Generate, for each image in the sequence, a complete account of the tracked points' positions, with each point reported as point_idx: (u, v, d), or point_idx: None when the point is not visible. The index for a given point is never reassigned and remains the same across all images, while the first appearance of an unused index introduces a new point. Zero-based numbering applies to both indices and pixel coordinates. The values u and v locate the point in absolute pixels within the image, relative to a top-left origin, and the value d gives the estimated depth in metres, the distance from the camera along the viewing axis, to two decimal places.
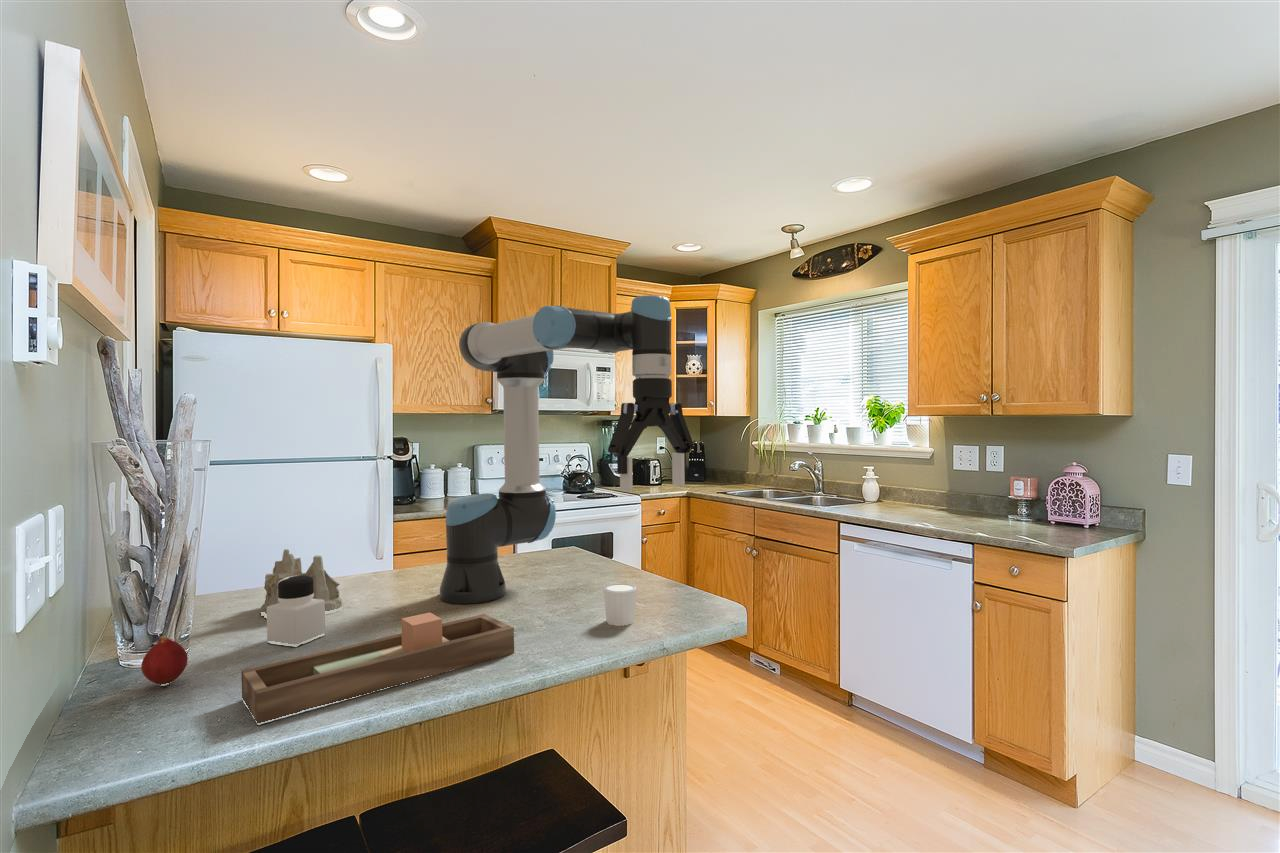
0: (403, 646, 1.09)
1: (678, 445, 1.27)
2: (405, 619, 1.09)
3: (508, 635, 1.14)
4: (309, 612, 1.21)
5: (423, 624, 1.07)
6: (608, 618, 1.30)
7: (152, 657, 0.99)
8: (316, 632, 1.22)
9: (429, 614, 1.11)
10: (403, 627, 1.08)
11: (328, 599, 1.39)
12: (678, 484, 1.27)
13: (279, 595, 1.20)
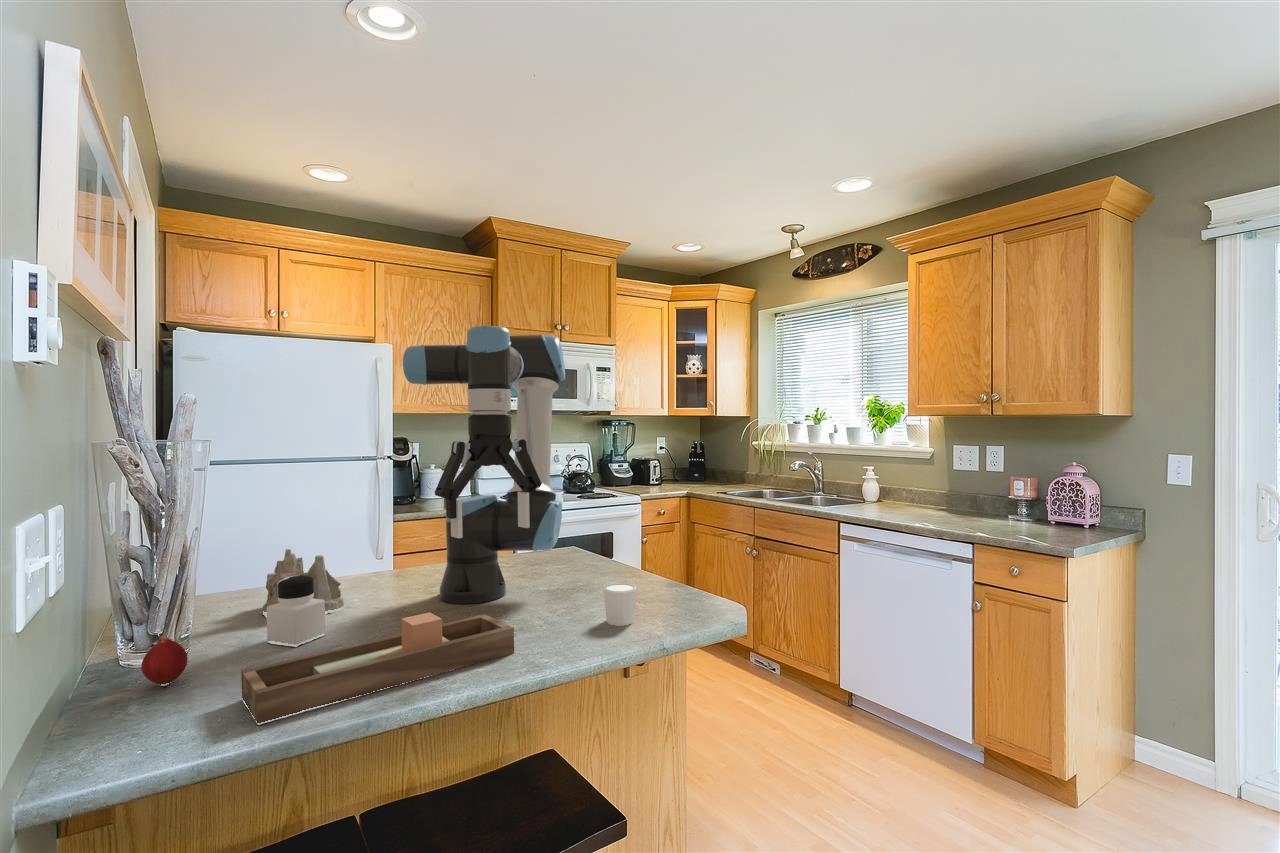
0: (403, 646, 1.09)
1: (522, 484, 1.19)
2: (405, 619, 1.09)
3: (508, 635, 1.14)
4: (309, 612, 1.21)
5: (423, 624, 1.07)
6: (608, 618, 1.30)
7: (152, 657, 0.99)
8: (316, 632, 1.22)
9: (429, 614, 1.11)
10: (403, 627, 1.08)
11: (330, 599, 1.40)
12: (523, 526, 1.19)
13: (279, 595, 1.20)
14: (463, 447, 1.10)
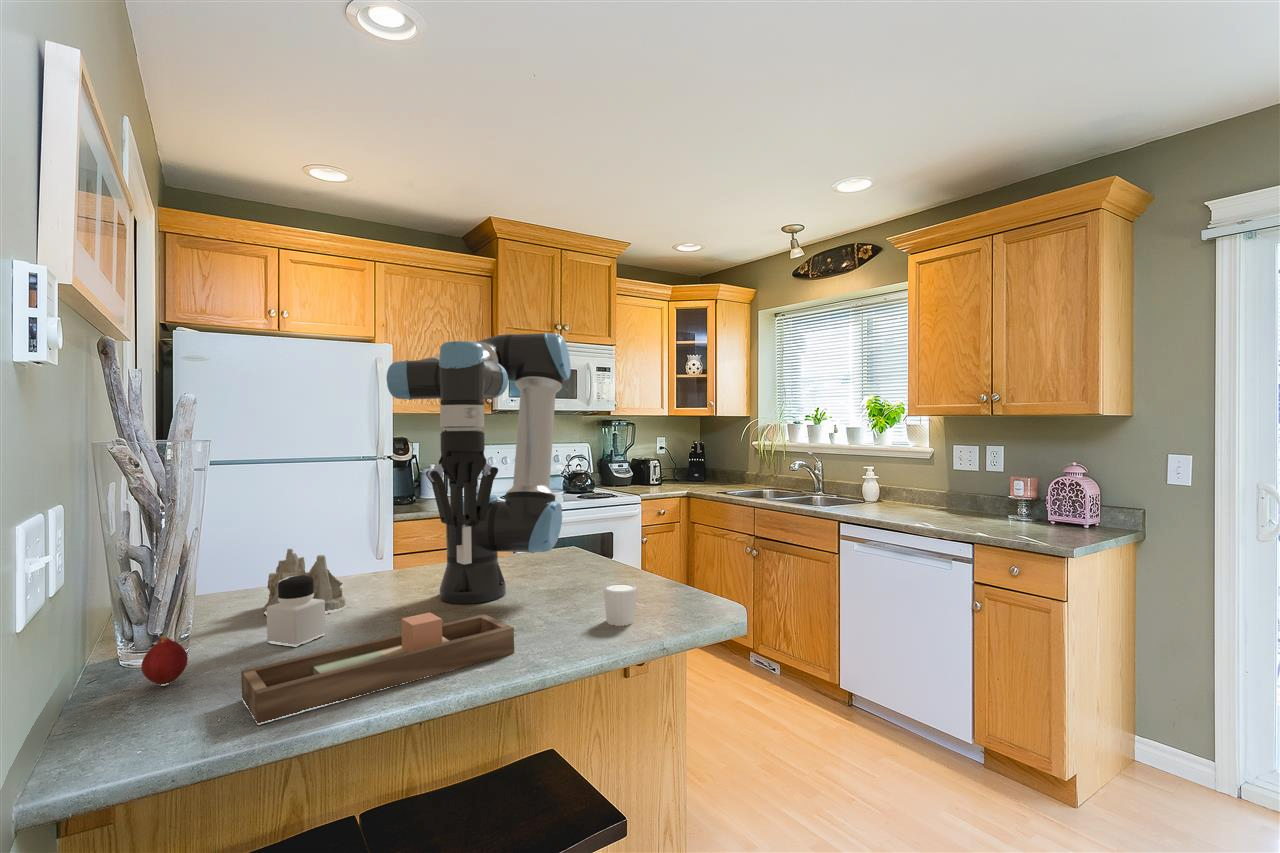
0: (403, 646, 1.09)
1: (469, 513, 1.14)
2: (405, 619, 1.09)
3: (508, 635, 1.14)
4: (309, 612, 1.21)
5: (423, 624, 1.07)
6: (608, 618, 1.30)
7: (152, 657, 0.99)
8: (316, 632, 1.22)
9: (429, 614, 1.11)
10: (403, 627, 1.08)
11: (331, 598, 1.40)
12: None
13: (279, 595, 1.20)
14: (437, 474, 1.09)
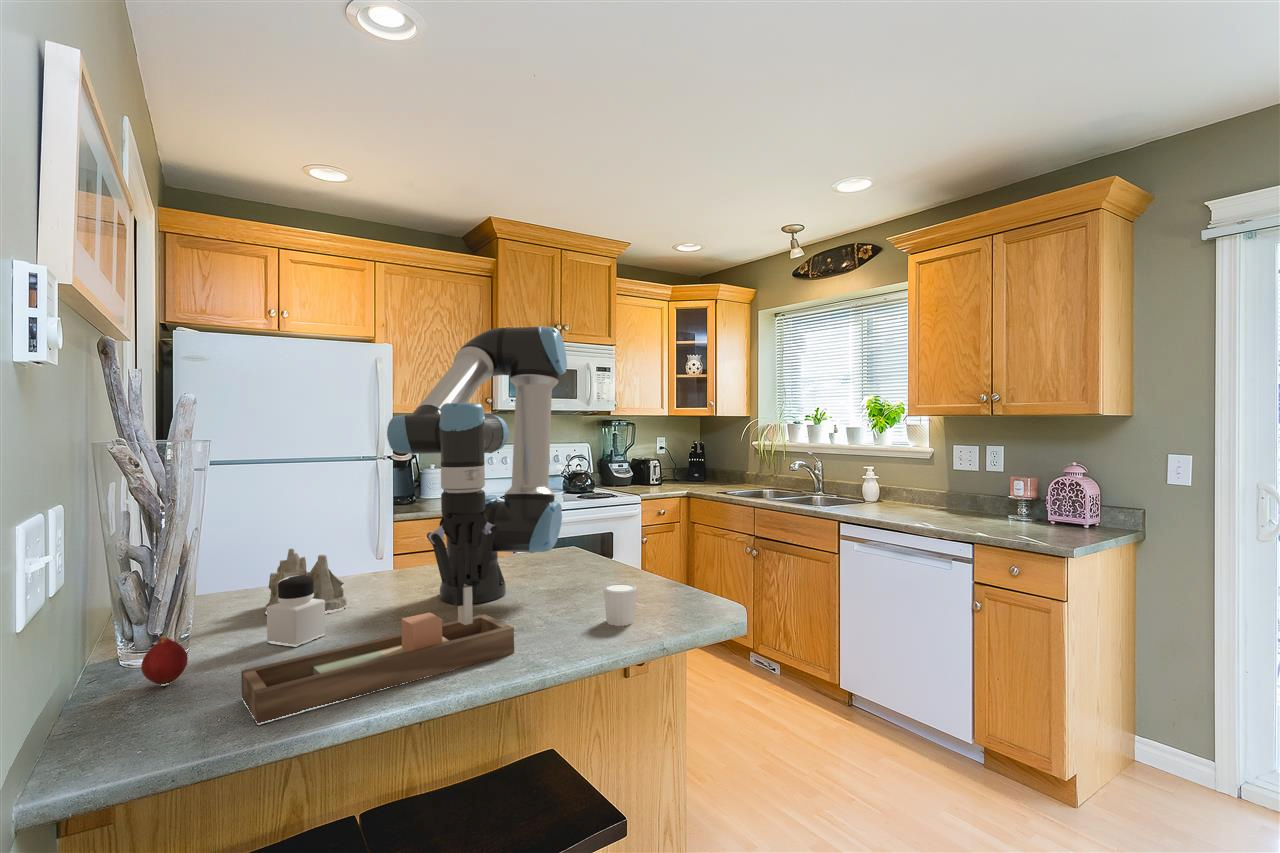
0: (403, 646, 1.09)
1: (470, 573, 1.14)
2: (405, 619, 1.09)
3: (508, 635, 1.14)
4: (309, 612, 1.21)
5: (423, 624, 1.07)
6: (608, 618, 1.30)
7: (152, 657, 0.99)
8: (316, 632, 1.22)
9: (429, 614, 1.11)
10: (403, 627, 1.08)
11: (333, 598, 1.40)
12: None
13: (279, 595, 1.20)
14: (438, 537, 1.10)
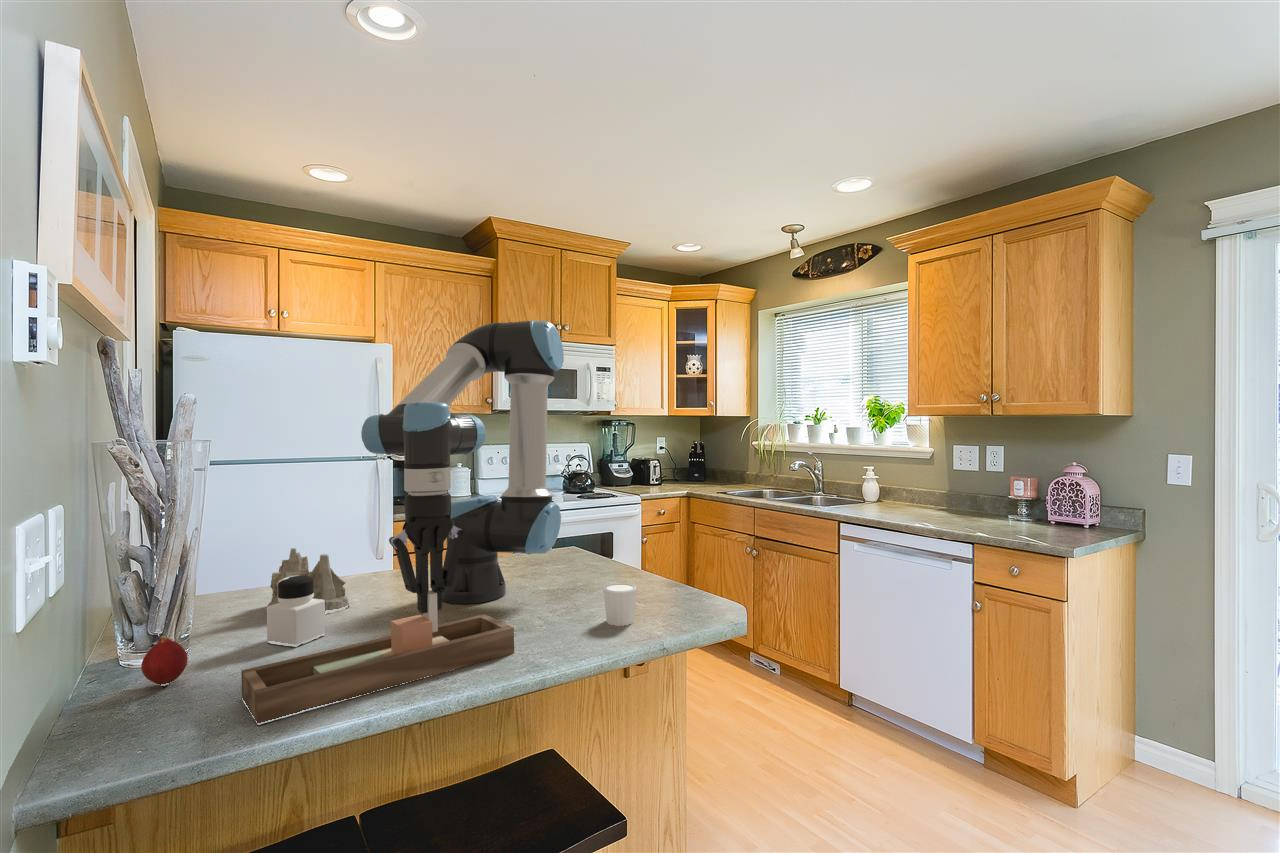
0: (393, 649, 1.07)
1: (435, 579, 1.10)
2: (394, 621, 1.07)
3: (508, 635, 1.14)
4: (309, 612, 1.21)
5: (413, 626, 1.05)
6: (608, 618, 1.30)
7: (152, 657, 0.99)
8: (316, 632, 1.22)
9: (419, 616, 1.10)
10: (393, 629, 1.07)
11: (335, 597, 1.41)
12: None
13: (279, 595, 1.20)
14: (401, 542, 1.05)
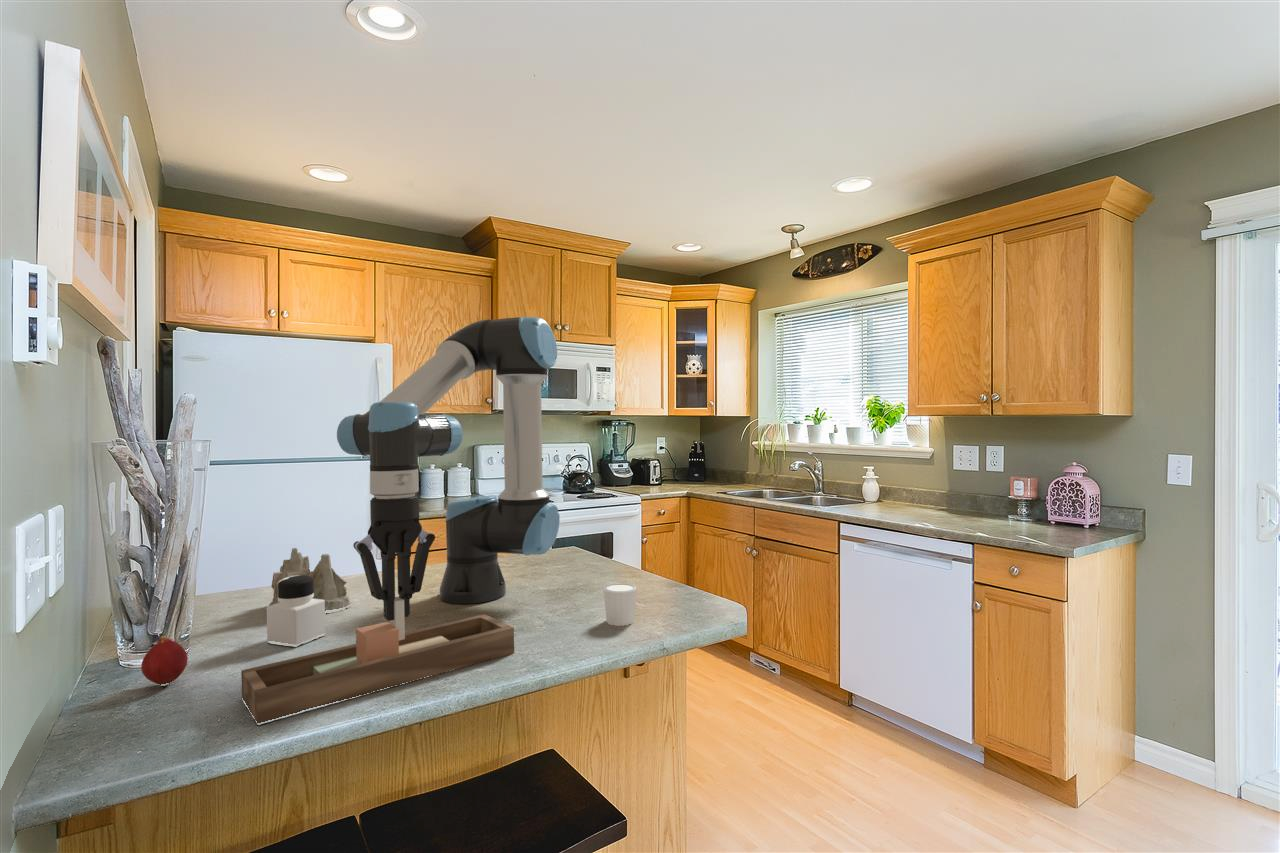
0: (357, 657, 1.04)
1: (402, 585, 1.06)
2: (359, 629, 1.04)
3: (508, 635, 1.14)
4: (309, 612, 1.21)
5: (378, 635, 1.02)
6: (608, 618, 1.30)
7: (152, 657, 0.99)
8: (316, 632, 1.22)
9: (386, 624, 1.06)
10: (357, 637, 1.04)
11: (336, 597, 1.41)
12: None
13: (279, 595, 1.20)
14: (365, 547, 1.01)
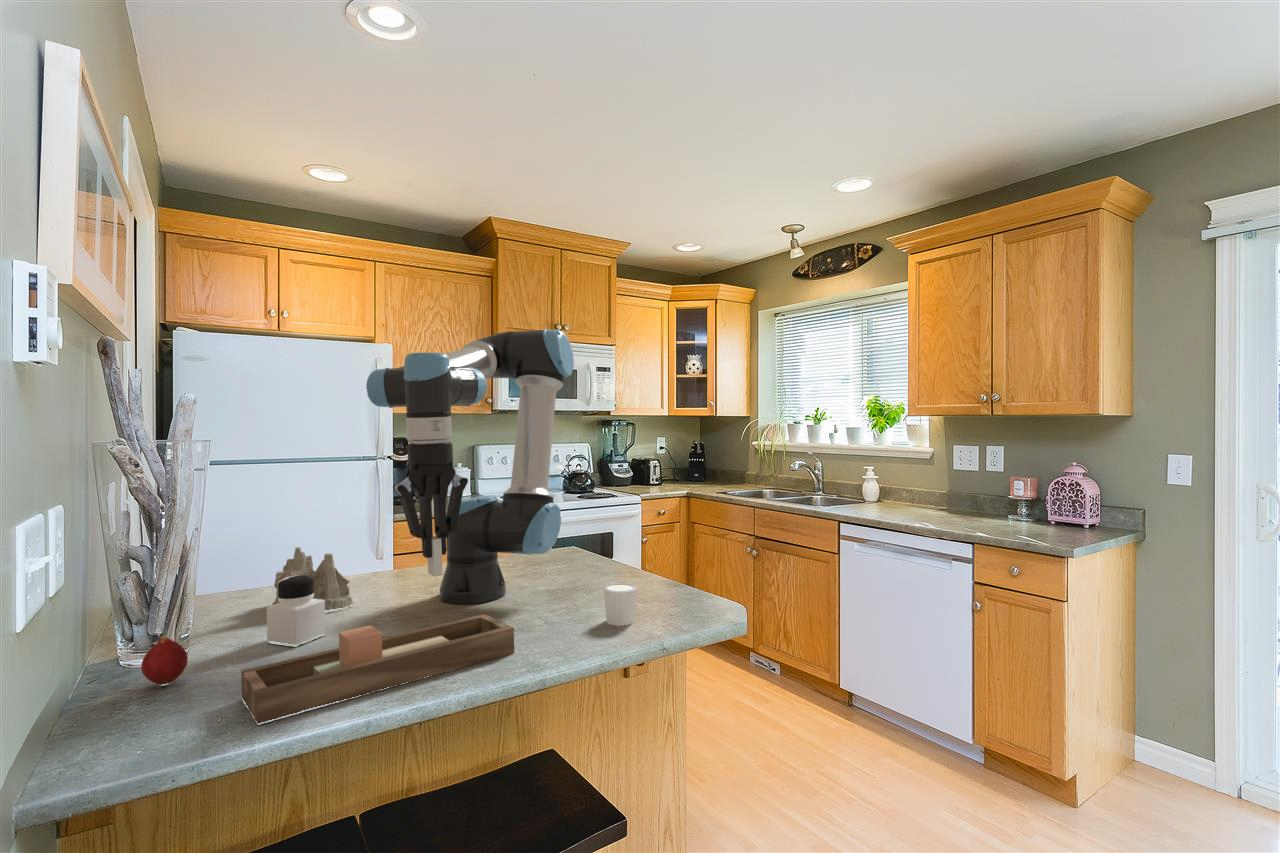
0: (340, 662, 1.02)
1: (438, 525, 1.13)
2: (342, 633, 1.02)
3: (508, 635, 1.14)
4: (309, 612, 1.21)
5: (360, 638, 1.00)
6: (608, 618, 1.30)
7: (152, 657, 0.99)
8: (316, 632, 1.22)
9: (370, 627, 1.05)
10: (340, 641, 1.02)
11: (339, 596, 1.42)
12: None
13: (279, 595, 1.20)
14: (404, 488, 1.08)
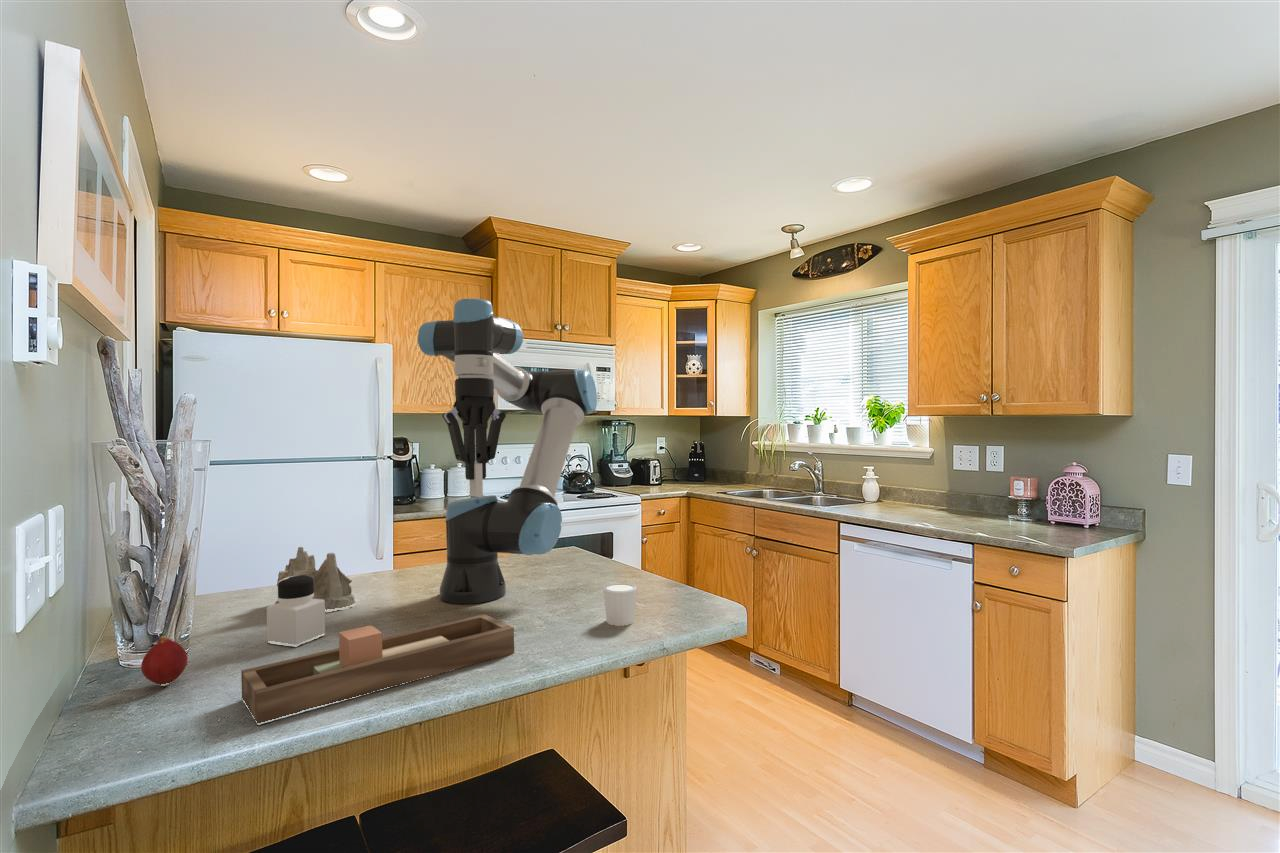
0: (340, 662, 1.02)
1: (480, 451, 1.28)
2: (342, 633, 1.02)
3: (508, 635, 1.14)
4: (309, 612, 1.21)
5: (360, 638, 1.00)
6: (608, 618, 1.30)
7: (152, 657, 0.99)
8: (316, 632, 1.22)
9: (370, 627, 1.05)
10: (340, 641, 1.02)
11: (341, 595, 1.42)
12: None
13: (279, 595, 1.20)
14: (453, 416, 1.24)
